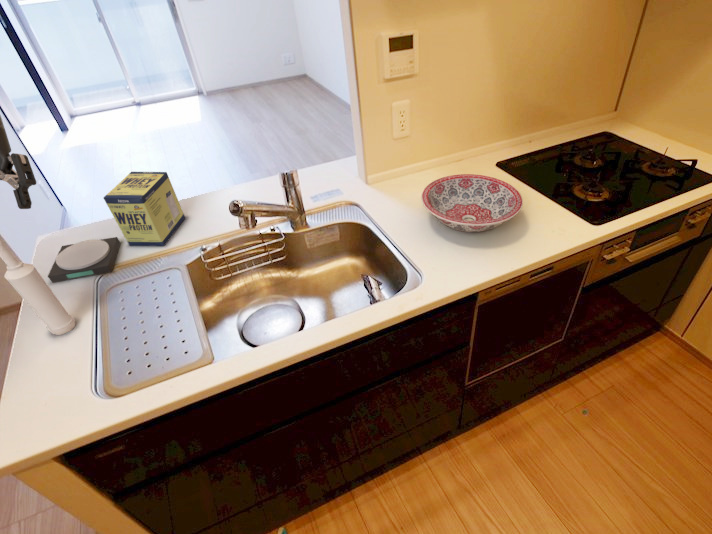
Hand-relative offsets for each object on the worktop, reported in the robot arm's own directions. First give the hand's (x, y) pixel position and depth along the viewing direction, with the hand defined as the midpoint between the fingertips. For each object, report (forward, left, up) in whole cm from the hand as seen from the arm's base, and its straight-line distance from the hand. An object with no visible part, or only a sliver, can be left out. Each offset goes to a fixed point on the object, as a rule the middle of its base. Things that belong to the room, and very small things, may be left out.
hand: (5, 211), depth 86 cm
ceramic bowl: (+107, +4, -26) cm, 110 cm away
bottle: (0, -8, -26) cm, 27 cm away
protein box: (+17, +28, -26) cm, 41 cm away
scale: (0, +18, -26) cm, 31 cm away
